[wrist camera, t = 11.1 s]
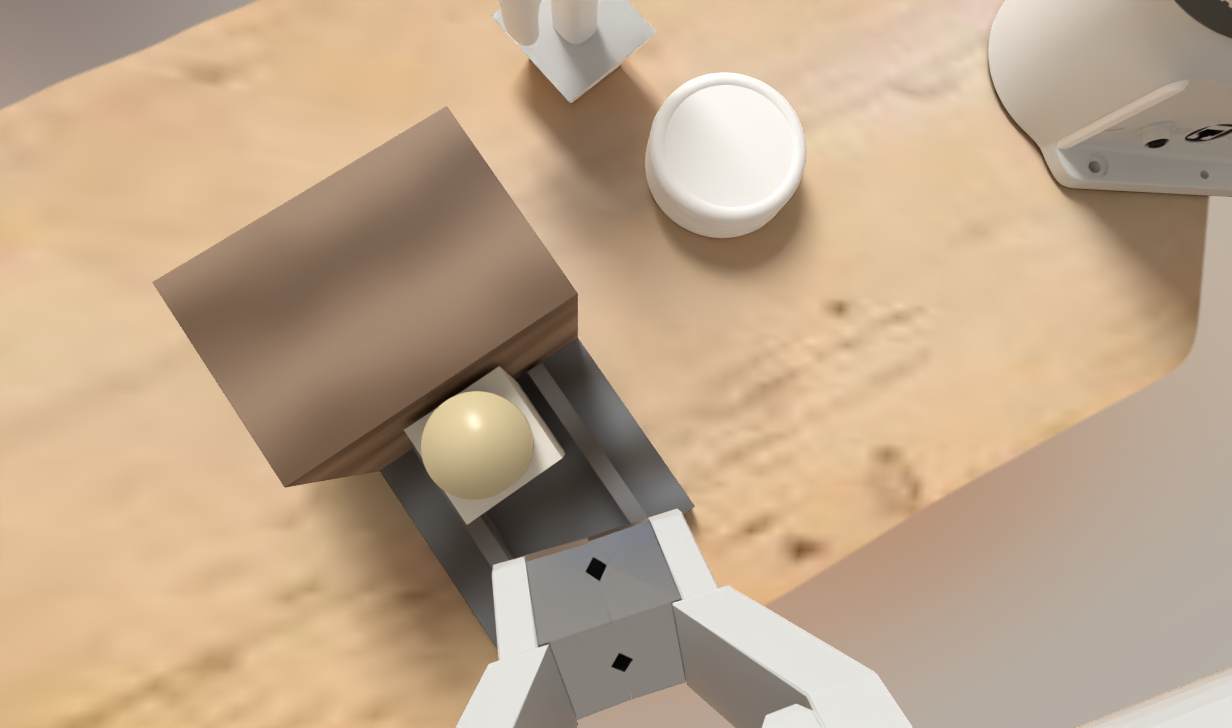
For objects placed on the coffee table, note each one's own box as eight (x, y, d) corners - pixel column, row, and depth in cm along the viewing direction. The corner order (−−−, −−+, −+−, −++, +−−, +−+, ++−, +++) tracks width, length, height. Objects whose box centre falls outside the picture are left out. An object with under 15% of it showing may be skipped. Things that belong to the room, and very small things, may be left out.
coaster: (668, 80, 41) (676, 47, 38) (806, 126, 41) (827, 97, 38) (625, 213, 40) (629, 192, 36) (767, 260, 40) (785, 243, 36)
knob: (566, 452, 36) (560, 459, 25) (495, 502, 35) (457, 532, 24) (518, 383, 36) (493, 360, 25) (447, 431, 35) (389, 429, 24)
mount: (690, 503, 38) (748, 538, 25) (501, 641, 36) (458, 757, 23) (490, 215, 39) (446, 106, 26) (299, 335, 37) (152, 282, 24)
